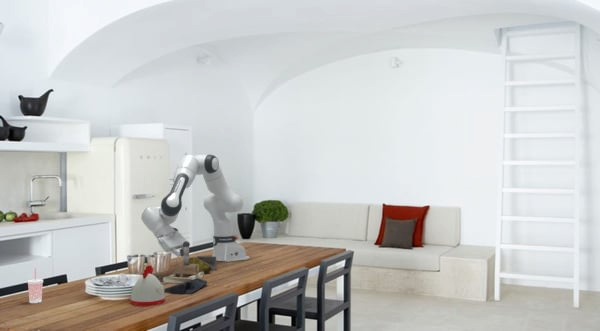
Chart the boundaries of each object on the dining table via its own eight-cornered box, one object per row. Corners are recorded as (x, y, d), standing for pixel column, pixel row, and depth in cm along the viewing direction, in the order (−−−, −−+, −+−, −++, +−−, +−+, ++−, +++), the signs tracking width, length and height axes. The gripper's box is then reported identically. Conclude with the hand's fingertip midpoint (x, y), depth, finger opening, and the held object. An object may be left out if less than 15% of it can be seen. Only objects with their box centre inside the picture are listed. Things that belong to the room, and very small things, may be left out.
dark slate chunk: (213, 286, 290) (213, 276, 290) (190, 296, 269) (190, 285, 269) (184, 284, 295) (184, 274, 295) (159, 293, 274) (159, 283, 274)
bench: (195, 268, 335) (195, 255, 334) (219, 269, 331) (219, 256, 331) (163, 282, 297) (163, 267, 297) (190, 283, 294) (190, 269, 294)
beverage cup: (38, 299, 261) (38, 266, 261) (46, 301, 257) (46, 268, 257) (24, 302, 257) (24, 268, 256) (32, 304, 253) (31, 270, 253)
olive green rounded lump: (202, 275, 315) (202, 259, 315) (183, 273, 322) (183, 257, 322) (213, 272, 322) (213, 257, 322) (194, 270, 329) (194, 255, 329)
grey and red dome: (170, 299, 262) (170, 263, 262) (155, 306, 248) (155, 269, 248) (140, 297, 265) (140, 262, 265) (124, 304, 252) (124, 268, 251)
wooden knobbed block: (179, 275, 312) (179, 239, 311) (200, 276, 309) (199, 240, 309) (173, 277, 305) (173, 241, 304) (194, 278, 302) (194, 242, 302)
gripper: (159, 232, 298) (178, 253, 296) (178, 227, 318) (195, 247, 316) (151, 241, 299) (170, 262, 297) (170, 236, 319) (187, 255, 317)
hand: (183, 254), depth 306 cm, fingers open, 8 cm apart
